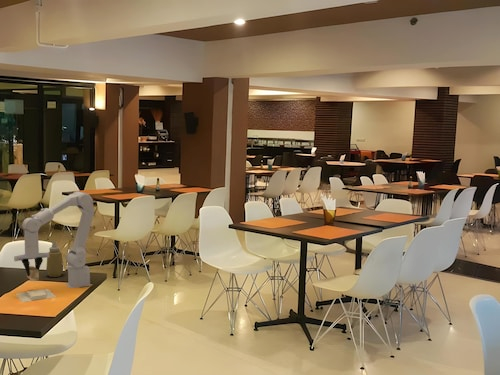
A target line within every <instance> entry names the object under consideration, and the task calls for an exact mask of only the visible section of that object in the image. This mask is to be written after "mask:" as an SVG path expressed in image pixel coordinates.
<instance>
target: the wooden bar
mask: <svg viewBox="0 0 500 375" xmlns="http://www.w3.org/2000/svg"><path fill="white" fill-rule="evenodd" d="M29 272H30V276H27V273H26V277H27V278H28V279H29V280H30V281H31V282H38V281H40V280H39V279H40V278H39V277H40V276H39V274H40V270H39V271H38V270H37V269H36V268H35V265H29Z"/></svg>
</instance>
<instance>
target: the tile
mask: <svg viewBox="0 0 500 375" xmlns="http://www.w3.org/2000/svg"><path fill="white" fill-rule="evenodd" d="M43 290H44V289H42V288H41V289H34V290H33V289H32V290H28V291H26V292H27V295H28V296H29V297H30V298H31V299H32V300H34V301H38V300H37V299H41V300H45V299H44V298H47V294H46V293H45V292H44V291H43ZM47 299H48V298H47Z"/></svg>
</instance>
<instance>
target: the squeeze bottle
mask: <svg viewBox="0 0 500 375" xmlns="http://www.w3.org/2000/svg"><path fill="white" fill-rule="evenodd" d="M48 249H49V251H48V253H49V258H47V257H46V272H47V274H48V277H50V278H58V277H61V276H62V275H63V272H64V262H63V256H62V253H63V252H61V251H60V247H59V246H58V244H57V241H56V240H55V239H53V240H52V244H51V247H49V248H48Z"/></svg>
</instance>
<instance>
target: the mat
mask: <svg viewBox="0 0 500 375" xmlns="http://www.w3.org/2000/svg"><path fill="white" fill-rule="evenodd" d="M42 290H43V291H44V292H45V293H46V294H47V298H44V299H43V300H45V299H53V298H57V296H56V295H55V294H54V293H53V292H52V291H51V290H50V289H48V288H45V289H42ZM15 295H16V297H18V299H19V300H20V301H21V303H28V302H32V301H33V302H34V301H35V300H32V299H31V298H30V297H29V296H28V295H27V291H24V292H18V293H15ZM39 300H40V301H41V300H42V299H37V300H36V301H39Z"/></svg>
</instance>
